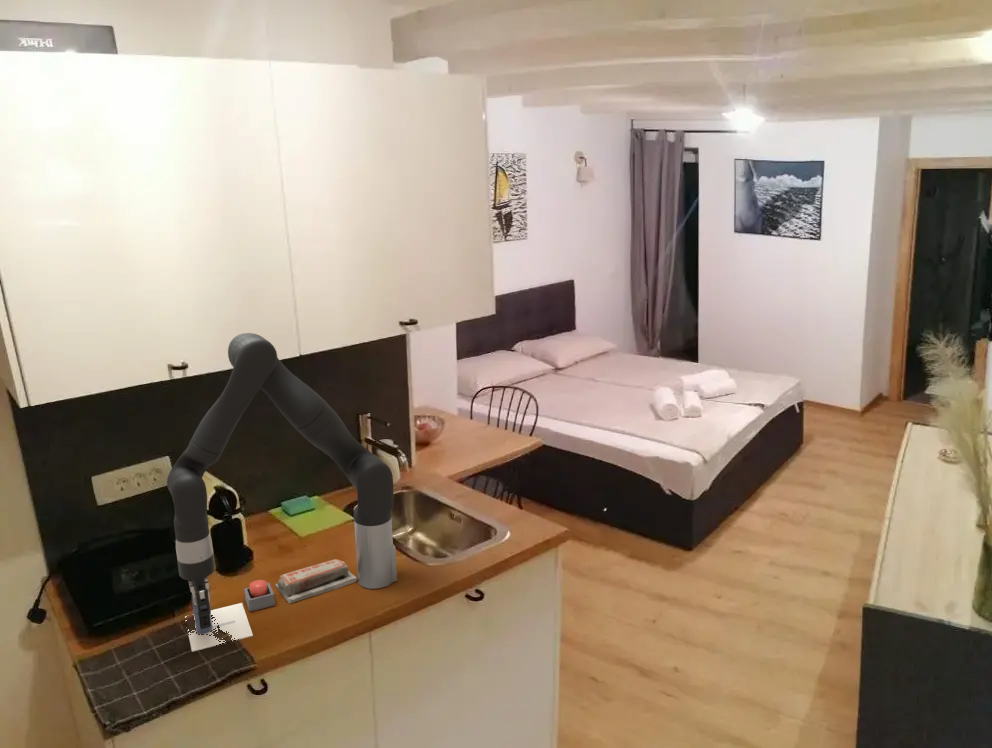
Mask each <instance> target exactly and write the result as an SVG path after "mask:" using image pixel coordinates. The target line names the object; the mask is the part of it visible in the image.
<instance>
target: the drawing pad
mask: <svg viewBox="0 0 992 748" xmlns="http://www.w3.org/2000/svg"><path fill="white" fill-rule="evenodd" d="M210 610H211V615H213V616H212V617H215V618H213V619H212V621H213V622H212V627H213V628H212V630H213V629H215V628H216V629H215V630H217V631H216V632H218V628H217V626H218V625H219V627H220V628H219V629H220V630H222V631H223V632H225V633H226V631H227V633H228V632H229V633H228V634H230V635H232V638H231V640H232V639H233V640H236V641H240V640H243V639H247V638H251V637H253V636H254V635H253V631H252V629H251V626H250V622H249V620H248V617H247V614H246V611H245V608H244V603H243V602H239V603H236V604H232V605H231V604H230V605H228V606H223V607H219V608H215V609H210ZM187 616H188V615H186V616H184V619H185V618H186V617H187ZM212 617H211V618H212ZM215 619H216V620H215ZM214 620H215V621H214ZM186 621H187V620H185V622H186ZM214 623H215V624H214ZM217 623H218V624H217ZM215 630H213V631H215ZM188 631H189V629H188V630H187V633H188ZM192 631H195V630H192ZM192 631H191V632H192ZM213 631H212V632H213ZM212 632H208V633H205V634H204V635H201V634H200V635H198V633H197V634H196V631H195V632H194V633H190V632H189V633H188V634H189V635H188V634H187V635H188V639H189V644H190V649H191V652H192V653H194V652H198V651H200V650H205V649H209V648H212V647H216V645H217V646H220V645H219V644H221V645H223V644H222V643H224V644H226V643H225V642H226V641H225V640H219V638H218V639H217V637H216V638H215V636H213V635H214V634H213V633H212ZM216 632H215V633H216ZM190 634H191V635H190ZM206 634H208V635H206ZM211 634H212V635H211ZM217 634H218V633H217ZM209 635H211V636H209ZM230 635H229V636H230ZM234 638H235V639H234ZM216 639H217V640H216ZM222 639H223V638H222ZM238 639H239V640H238ZM218 640H219V641H221V642H219V641H218ZM233 640H232V642H234V641H233ZM223 641H225V642H223Z"/></svg>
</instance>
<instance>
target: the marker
mask: <svg viewBox="0 0 992 748" xmlns="http://www.w3.org/2000/svg"><path fill="white" fill-rule="evenodd" d="M195 597H196V596H195ZM191 603H192V611H193V612H192V613H193V615H194V620H195V628H196V632H197V633H198V634H205V633H208V632H210V631H211V630H212V628H213V627H212V619H211V614H209V615H210V623H211V626H210V627H208V628H205V629H201V628H200V622H199V615H198V614H197V605H195V604H194V601H193V595H192V594H191ZM209 605H210V606H211V604H210V601H209ZM202 608H206V605H205V606H201V607H200V609H202ZM210 613H211V612H210Z"/></svg>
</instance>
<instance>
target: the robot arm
mask: <svg viewBox="0 0 992 748" xmlns="http://www.w3.org/2000/svg"><path fill="white" fill-rule="evenodd" d="M227 358H228V361H229V362H230V364H231V366H232V367H233V368H232V370H231V374H230V377H229V379H228V381H227V383H226V385H225V387H224V390H223V391H222V393H221V394H220V396H219V397H218V398H217V399H216V401H215V402H214V404H212V405H211V407H210V408H209V409H208V411H207V412H206V414H205V415H204V416H203V417H202V419H201V421H200V422H199V424H198V425H197V428H196V429H195V431H194V433H193V435H192V437H191V439H190V441H189V444H188V446H187V448H185V450H184V451H183V452H182V454H181V455H180V456H179V458H178V459H177V461H175V463H174V464H173V466H172V467H171V468H170V472H169V473H168V476H167V480H166V486H167V490H168V492H169V493H170V496H171V498H172V503H173V508H174V517H173V527H174V534H175V551H176V558H177V559H176V560H177V568H178V574H179V577H180V578H181V579H183V580H186V581H188V585H189V590H190V592H191V593H192V594H191V596H192V595H193V601H194V604H195V605H197V614H198V615H199V622H200V628H201V629H205V628H208V627H210V626H211V623H210V615H209V614H211V613H210V612H211V610H212V609H211V604H210V605H209V602H210V601H211V596H210V582H209V580H208V577H209V576H211V575H212V574H213V573H214V572H215V569H216V566H215V565H216V564H215V557H214V550H213V548H214V547H213V541H212V538H211V533H210V528H209V526H210V524H209V518H208V493H207V485H206V482H205V480H204V479H203V476H204V475H205V473H206V471H207V470H208V468H209V467H210V466H213V465H215V464H216V463H217V462H218V461H219V459H220V458H221V456H222V453H223V452H224V450H225V448H226V446H227V444H228V442H229V440H230V438H231V436H232V434H233V432H234V430H235V428H236V426H237V425H238V423H239V421H240V420H241V418H242V416H243V414H244V413H245V411H246V410H247V408H248V406H249V405H250V403H251V402H252V401H253V399H254V397H255V395H256V394H257V393H258V391H259V390H260V389H261V391H263V392H264V394H265V395H267V397H268V398H269V399H270V401H272V403H273V404H274V405H275V407H276V408H277V410H278V411H279V412H280V413H281V415H282V416H283V417H284V418H285V419H286V420H287V421H288V422H289V424H290V425H291V426H292V427H293V428H294V429H295V430H296V431H297V432H298V433H299V434H300V435H301V436H302V437H303V438H304V439H306V440H307V441H308V442H309V443H310V444H312V445H313V446H314V447H315V448H317V449H318V450H320V451H321V452H323V453H324V454H326V455H327V456H329V458H330V459H332V461H334V463H335V464H336V465H337V466H338V467H339V469H340V470H341V471H342V472H343V474H344V475H345V476H346V478H347V479H348V481H349V482H350V484H351V485H352V486H353V487H354V488H355V489H356V494H357V505H356V506H355V507H354V509H353V523H354V537H355V538H354V540H355V552H356V569H357V583H358V585H360V586H361V587H362V588H365V589H371V590H372V589H373V590H375V589H382V588H385V587H388V586H390V585H391V584H393V582H397V581H398V572H397V571H398V569H397V552H396V551H397V550H396V545H395V544H394V543H393V523H392V511H393V509H394V502H395V501H394V500H395V499H394V476H393V472H392V469H391V468H390V467H389V465H388V464H387V463H386V462H384V461H383V460H382V459H381V458H380V457H378V456H377V455H376V454H375V453H373V452H371V451H370V450H369V449H367V448H366V447H365V446H364V445H363V444H361V443H360V442H359V441H358V440H357V439H356V438H355V437H354V436H353V435H352V434H351V432H350V431H349V430H348V428H347V426H346V425H345V423H344V422H343V420H342V419H341V417H340V416H339V415H338V414H337V412H336V411H335V410H334V409H333V408H332V406H330V405H329V404H328V402H326V400H325V399H323V397H321V396H320V395H319V394H318V393H317V392H316V391H315V390H313V388H311V387H310V386H309V385H308V384H307V383H306V382H303V381H302V380H301V379H300V378H298V377H297V376H296V375H295V374H293V373H292V372H291V371H290V370H289V369H288V368H287V366H285V365H284V364H283V362H282V361H281V360H280V359H279V358H278V352H277V350H276V347H275V346H274V345H273V344H272V343H271V342H270V341H269V340H267V339H266V338H265V337H263V336H261V335H259V334H257V333H252V332H245V333H240V334H238V335H236V336H234V337H233V338H232V340H231V341H230V342H229V344H228V348H227ZM195 596H196V597H195ZM205 605H206V608H202V609H200V607H201V606H205Z"/></svg>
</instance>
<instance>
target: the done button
mask: <svg viewBox="0 0 992 748" xmlns="http://www.w3.org/2000/svg"><path fill="white" fill-rule="evenodd" d="M267 583H268V582H267V581H266V580H265V579H257V580H254V581H251V582H249V587H250V595H251V598H255V597H259V596H264V595H268V590H267Z"/></svg>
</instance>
